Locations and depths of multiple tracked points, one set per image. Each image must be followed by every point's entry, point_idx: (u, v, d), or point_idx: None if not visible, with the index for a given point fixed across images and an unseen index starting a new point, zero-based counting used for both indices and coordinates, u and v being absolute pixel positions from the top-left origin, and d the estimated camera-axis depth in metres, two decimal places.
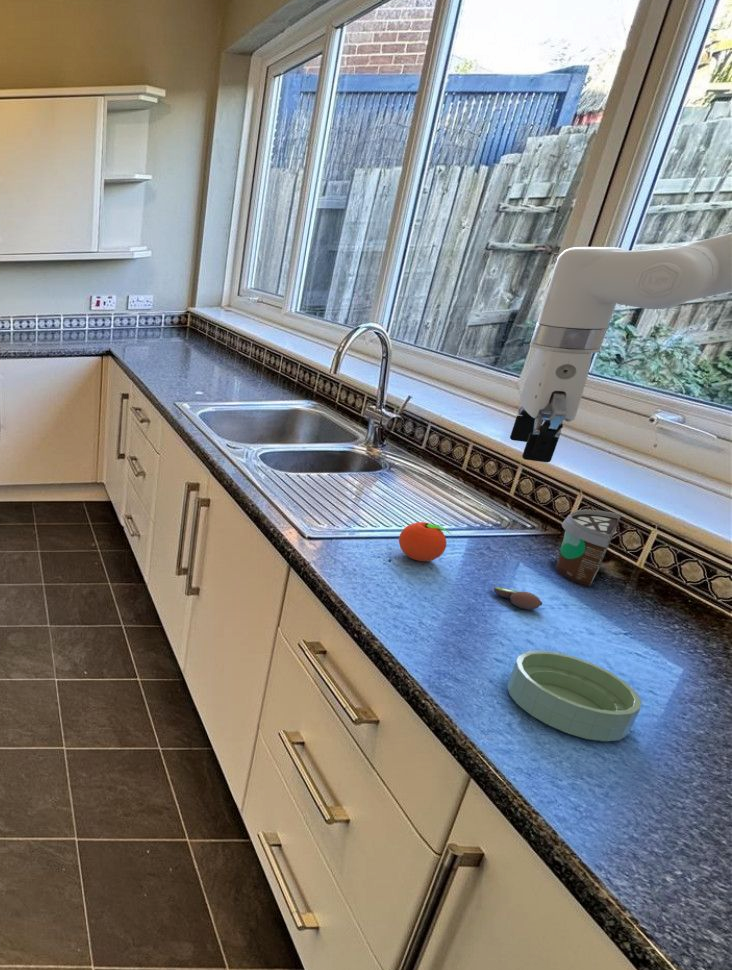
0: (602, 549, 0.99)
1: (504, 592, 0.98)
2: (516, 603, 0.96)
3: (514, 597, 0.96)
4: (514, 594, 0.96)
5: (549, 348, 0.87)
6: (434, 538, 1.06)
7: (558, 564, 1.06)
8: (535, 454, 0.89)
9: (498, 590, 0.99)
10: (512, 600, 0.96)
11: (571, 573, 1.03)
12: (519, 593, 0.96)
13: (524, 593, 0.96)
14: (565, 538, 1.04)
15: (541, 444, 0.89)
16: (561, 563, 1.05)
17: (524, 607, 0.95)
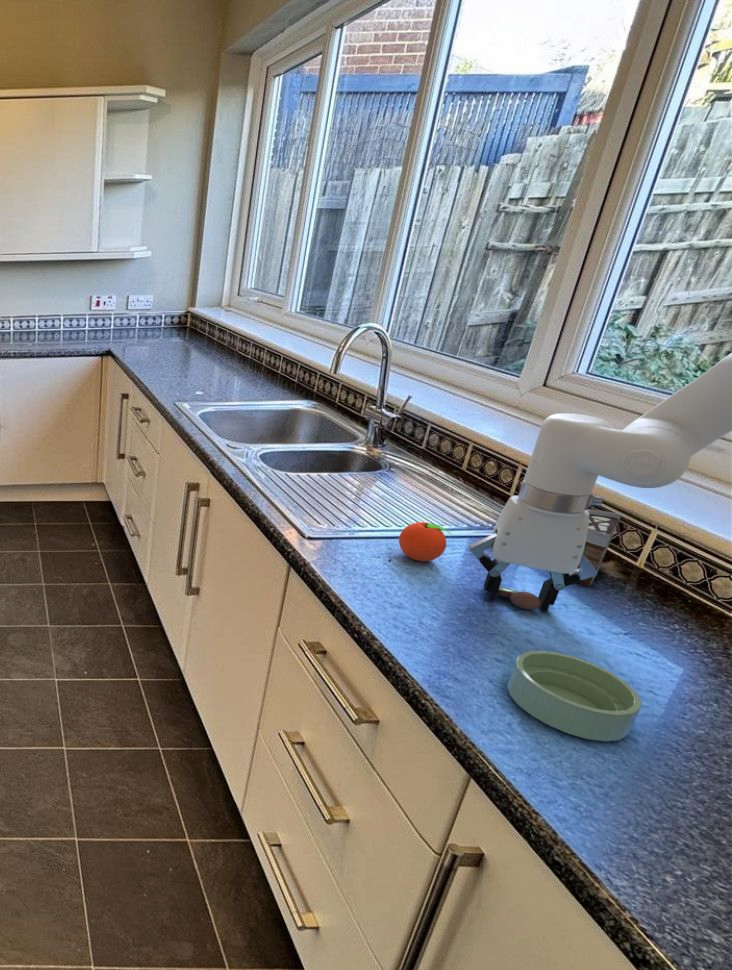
0: (602, 549, 0.99)
1: (504, 592, 0.98)
2: (516, 603, 0.96)
3: (514, 597, 0.96)
4: (514, 594, 0.96)
5: (580, 514, 0.88)
6: (434, 538, 1.06)
7: None
8: None
9: (498, 590, 0.99)
10: (512, 600, 0.96)
11: None
12: (519, 593, 0.96)
13: (524, 593, 0.96)
14: None
15: None
16: None
17: (524, 607, 0.95)
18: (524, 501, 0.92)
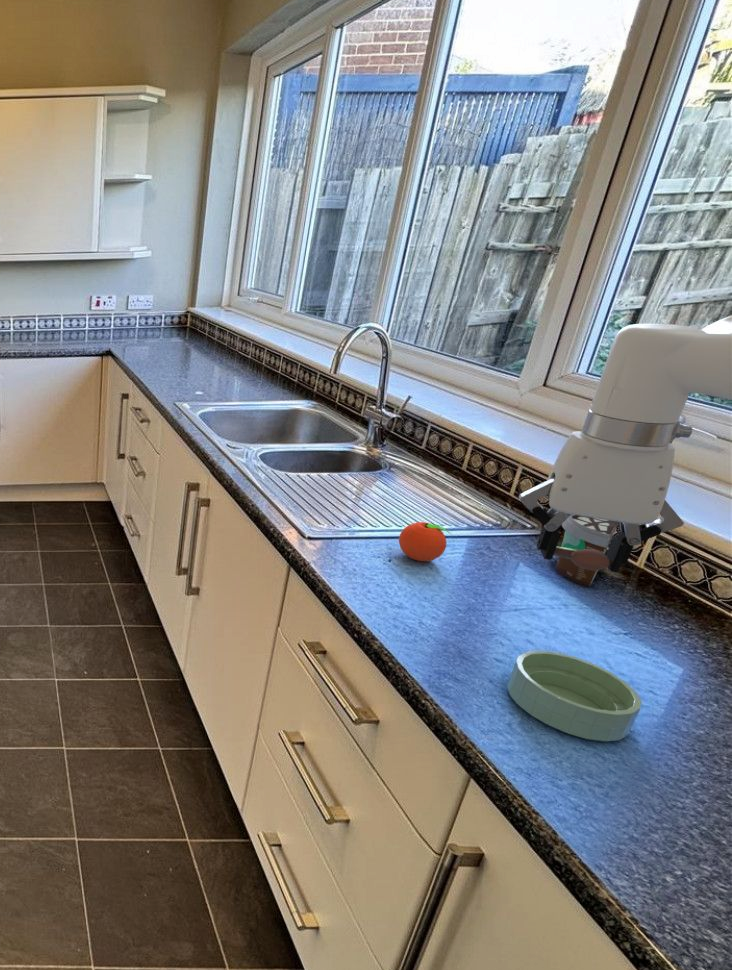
0: (602, 549, 0.99)
1: (563, 550, 0.81)
2: (578, 563, 0.79)
3: (576, 556, 0.79)
4: (576, 552, 0.79)
5: (664, 447, 0.71)
6: (434, 538, 1.06)
7: (558, 564, 1.06)
8: None
9: None
10: (573, 560, 0.79)
11: (571, 573, 1.03)
12: (582, 551, 0.79)
13: (588, 550, 0.79)
14: (565, 538, 1.04)
15: None
16: (561, 563, 1.05)
17: (589, 567, 0.78)
18: (591, 435, 0.74)
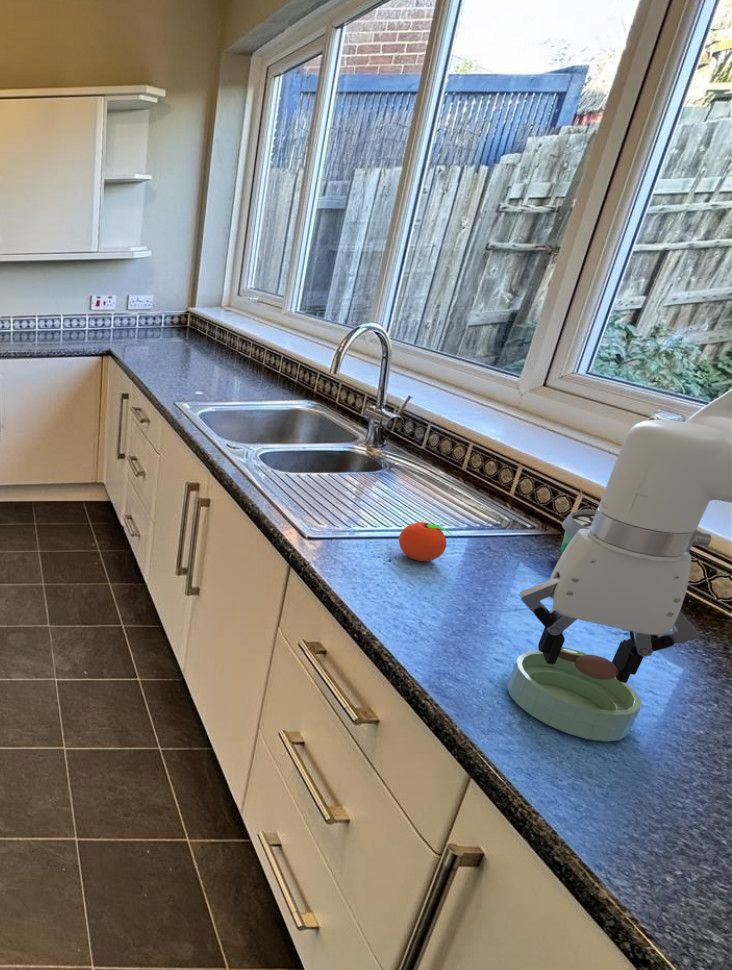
0: None
1: (566, 654, 0.74)
2: (584, 671, 0.72)
3: (581, 663, 0.73)
4: (581, 658, 0.73)
5: (680, 557, 0.65)
6: (434, 538, 1.06)
7: None
8: None
9: None
10: (578, 667, 0.73)
11: None
12: (588, 657, 0.72)
13: (595, 658, 0.72)
14: (565, 538, 1.04)
15: None
16: None
17: (595, 677, 0.72)
18: (600, 538, 0.68)
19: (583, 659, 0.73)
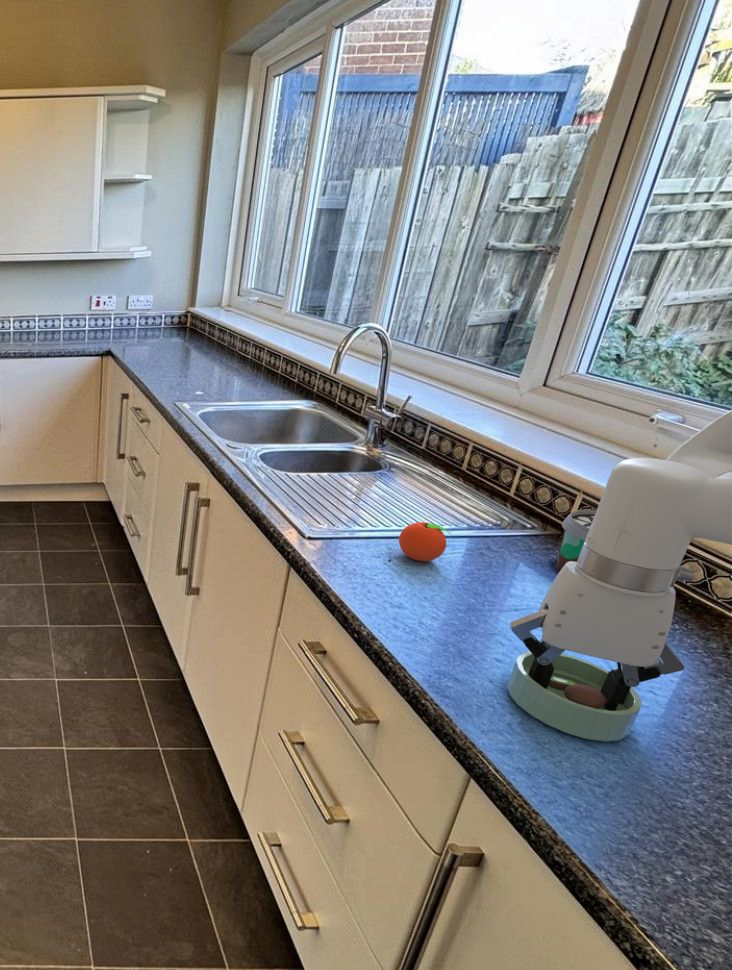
0: None
1: (556, 683, 0.76)
2: (573, 700, 0.74)
3: (570, 692, 0.74)
4: (570, 688, 0.74)
5: (665, 592, 0.66)
6: (434, 538, 1.06)
7: (558, 564, 1.06)
8: None
9: None
10: (567, 696, 0.74)
11: None
12: (577, 687, 0.74)
13: (584, 688, 0.74)
14: (565, 538, 1.04)
15: None
16: (561, 563, 1.05)
17: None
18: (586, 572, 0.70)
19: (572, 689, 0.74)
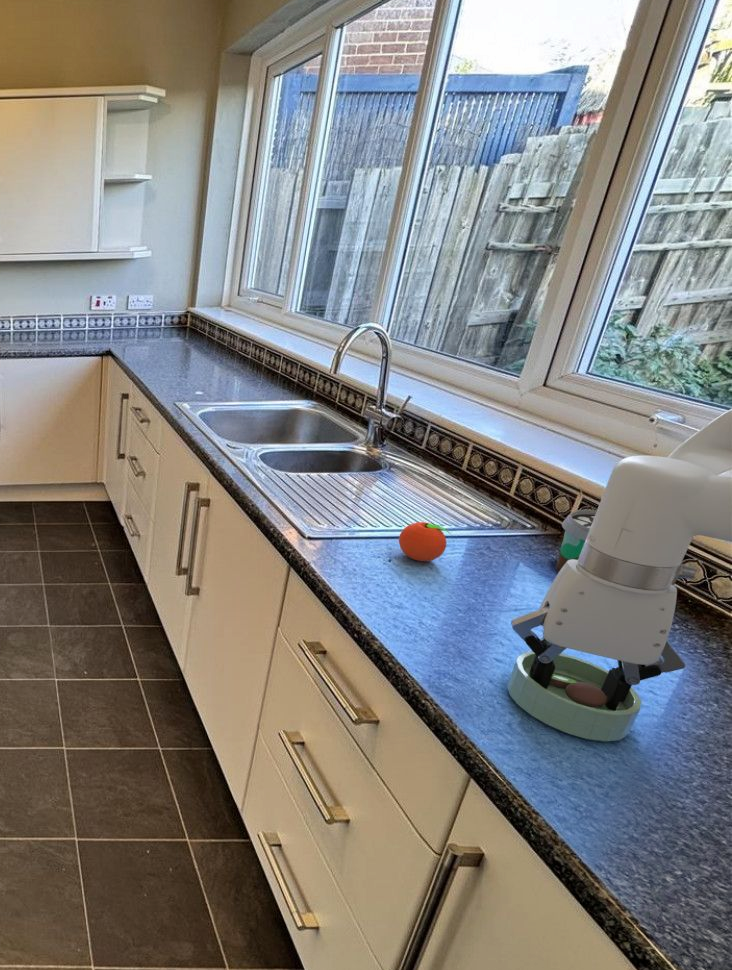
0: None
1: (557, 682, 0.76)
2: (574, 699, 0.74)
3: (571, 690, 0.74)
4: (571, 686, 0.74)
5: (666, 590, 0.66)
6: (434, 538, 1.06)
7: (558, 564, 1.06)
8: None
9: None
10: (568, 694, 0.74)
11: None
12: (578, 685, 0.74)
13: (585, 686, 0.74)
14: (565, 538, 1.04)
15: None
16: (561, 563, 1.05)
17: (585, 704, 0.73)
18: (587, 570, 0.69)
19: (573, 687, 0.74)
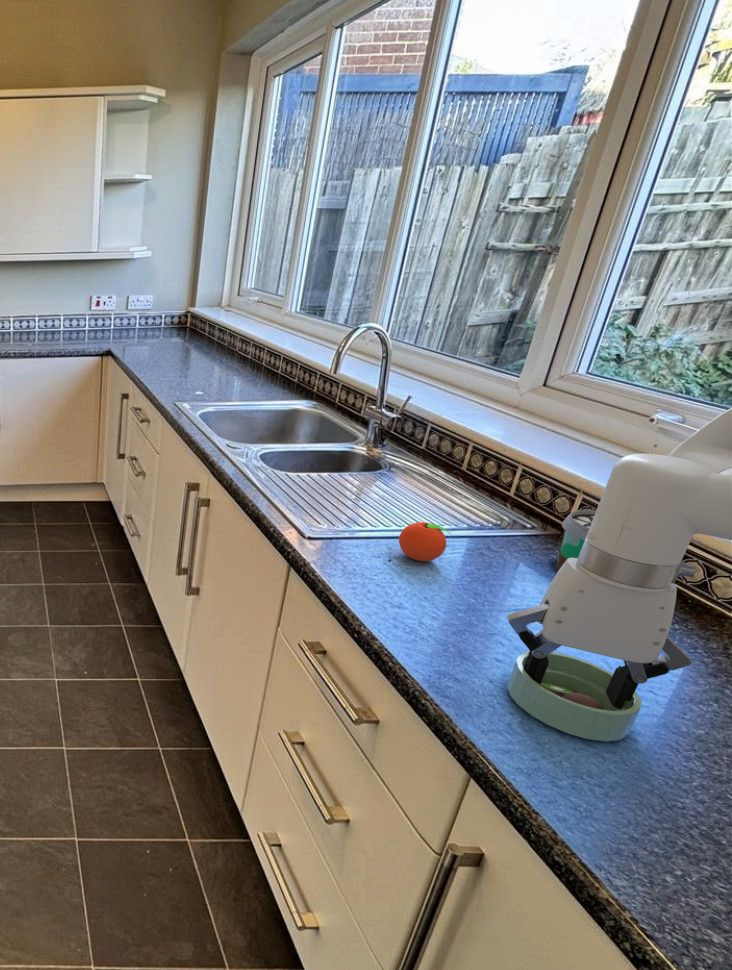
0: None
1: (553, 692, 0.77)
2: None
3: None
4: (567, 696, 0.75)
5: (666, 588, 0.66)
6: (434, 538, 1.06)
7: (558, 564, 1.06)
8: None
9: (545, 688, 0.77)
10: None
11: None
12: (573, 696, 0.75)
13: (580, 696, 0.74)
14: (565, 538, 1.04)
15: None
16: (561, 563, 1.05)
17: None
18: (587, 568, 0.69)
19: (568, 697, 0.75)
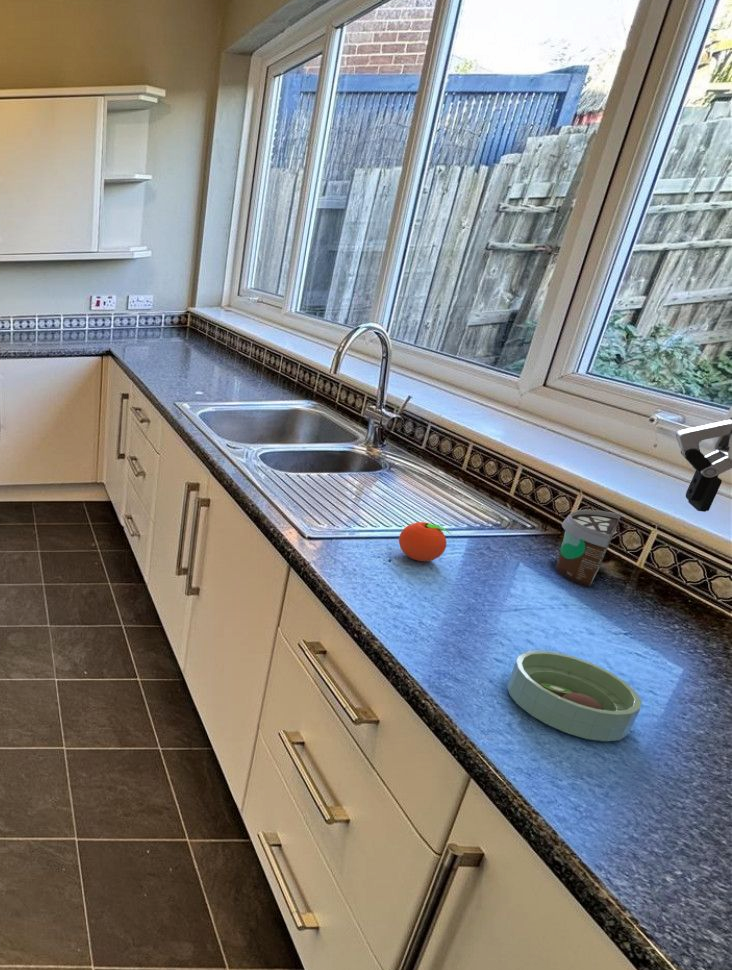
0: (602, 549, 0.99)
1: (553, 692, 0.77)
2: None
3: None
4: (567, 696, 0.75)
5: None
6: (434, 538, 1.06)
7: (558, 564, 1.06)
8: None
9: (545, 688, 0.77)
10: None
11: (571, 573, 1.03)
12: (573, 696, 0.75)
13: (580, 696, 0.74)
14: (565, 538, 1.04)
15: None
16: (561, 563, 1.05)
17: None
18: None
19: (568, 697, 0.75)
